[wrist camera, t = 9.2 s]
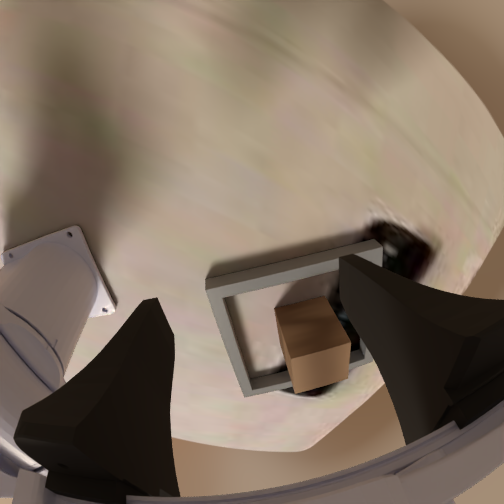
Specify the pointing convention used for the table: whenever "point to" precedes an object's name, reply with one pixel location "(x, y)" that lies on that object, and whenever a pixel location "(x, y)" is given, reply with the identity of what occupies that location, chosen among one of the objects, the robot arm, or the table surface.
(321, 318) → the walnut block
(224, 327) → the tray frame
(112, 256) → the table surface
